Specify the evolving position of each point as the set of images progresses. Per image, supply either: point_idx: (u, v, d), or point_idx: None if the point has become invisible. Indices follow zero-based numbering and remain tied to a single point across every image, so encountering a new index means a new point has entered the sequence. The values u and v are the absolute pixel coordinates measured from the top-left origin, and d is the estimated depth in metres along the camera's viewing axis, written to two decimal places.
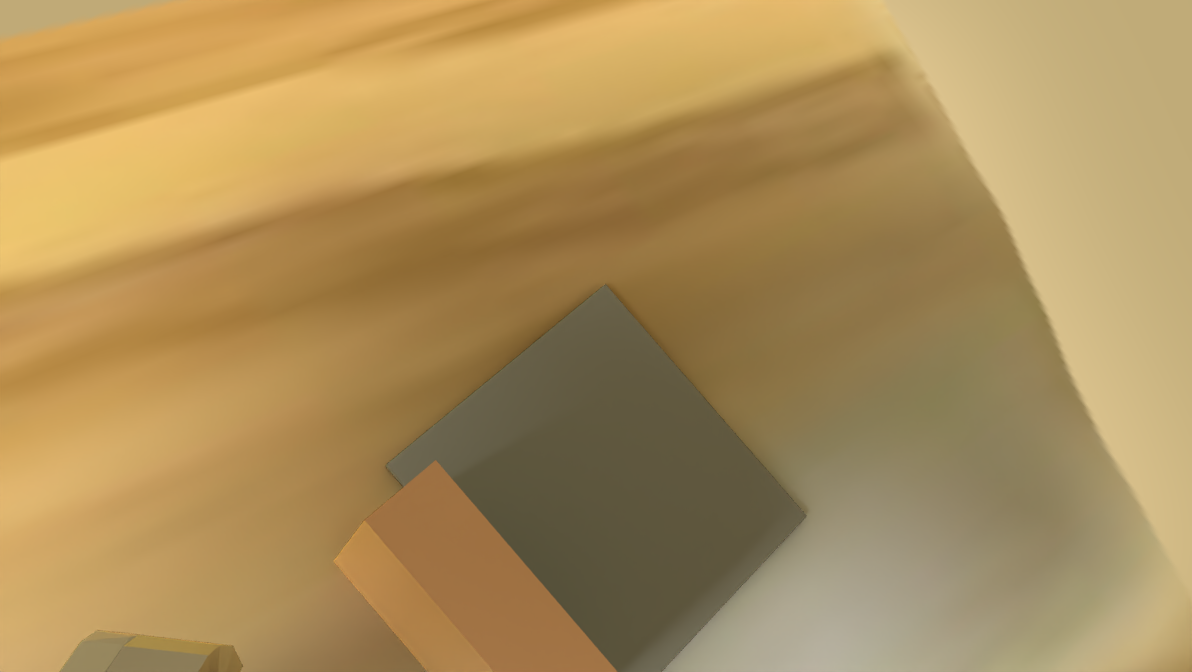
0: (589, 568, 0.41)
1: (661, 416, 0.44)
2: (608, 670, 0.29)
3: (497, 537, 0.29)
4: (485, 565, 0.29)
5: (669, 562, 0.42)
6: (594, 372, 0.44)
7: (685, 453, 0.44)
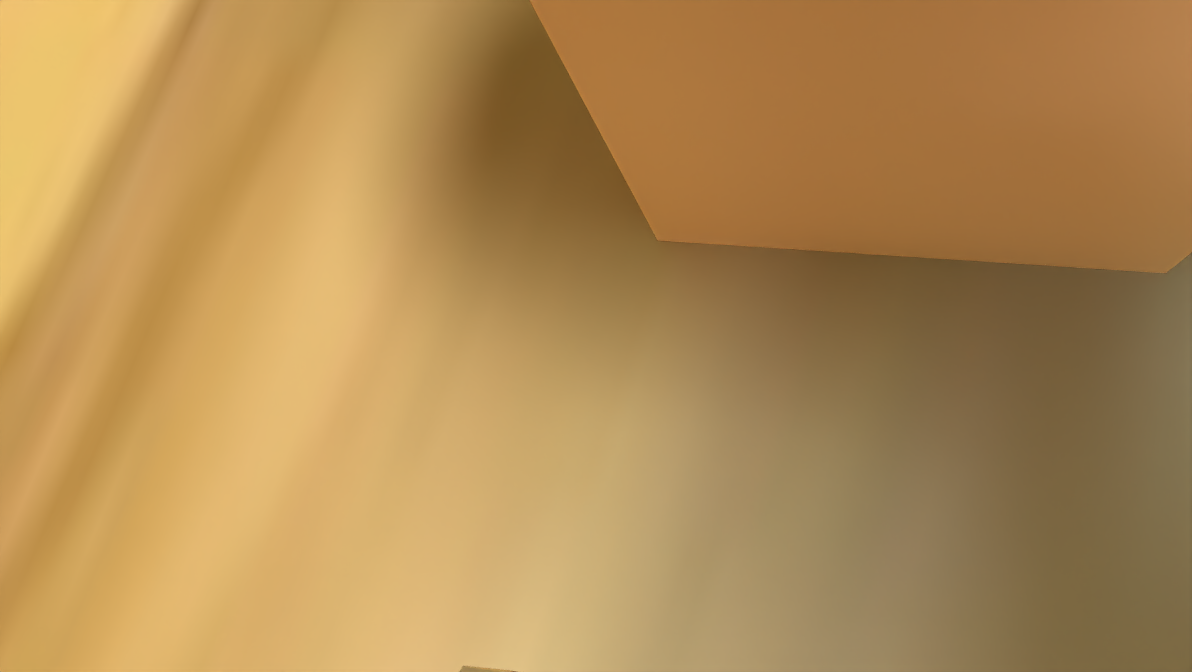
0: None
1: None
2: None
3: None
4: None
5: None
6: None
7: None
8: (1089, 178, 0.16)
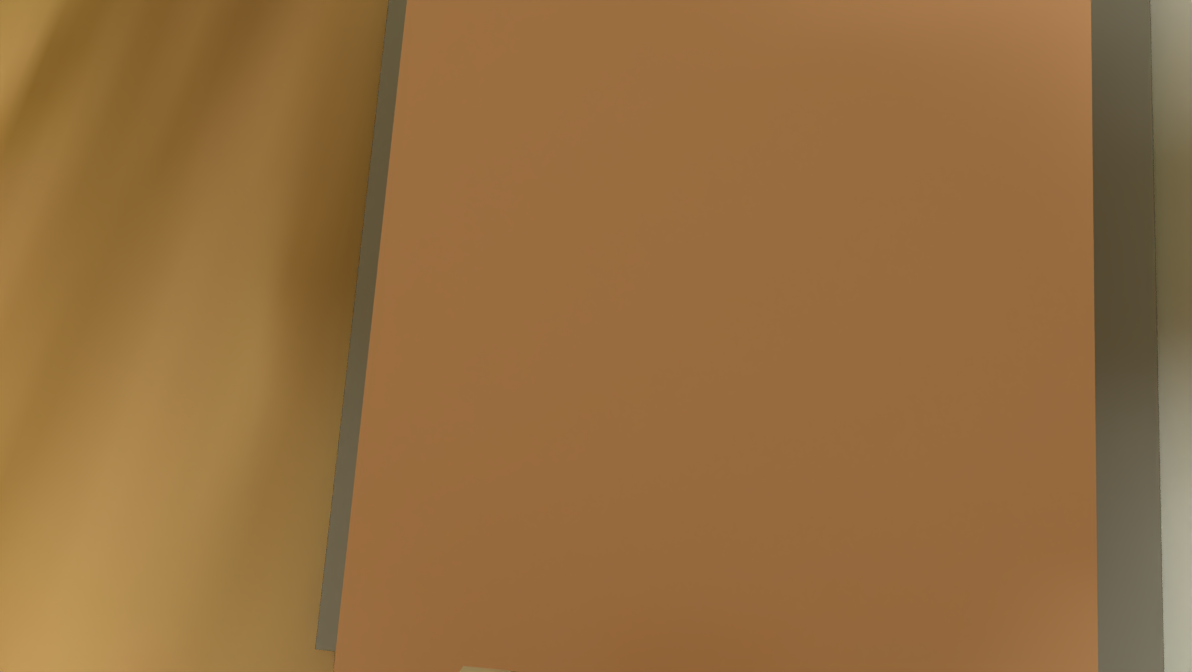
0: None
1: None
2: None
3: None
4: None
5: None
6: None
7: None
8: (889, 425, 0.14)
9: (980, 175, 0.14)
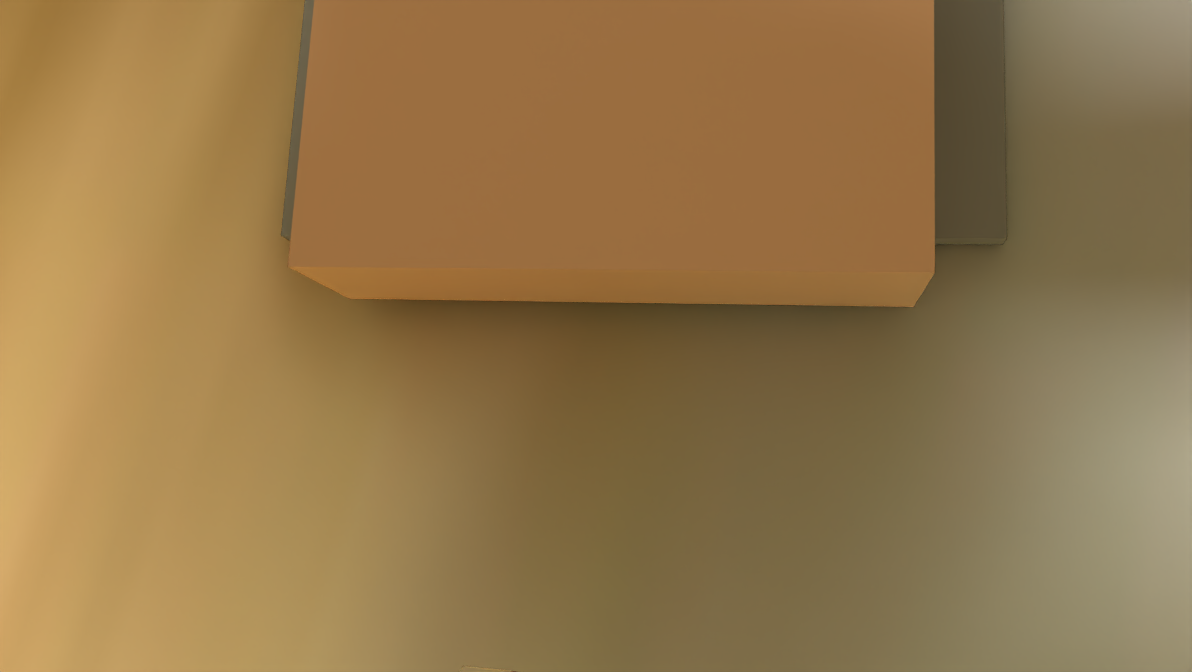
0: None
1: None
2: None
3: None
4: None
5: None
6: None
7: None
8: None
9: None
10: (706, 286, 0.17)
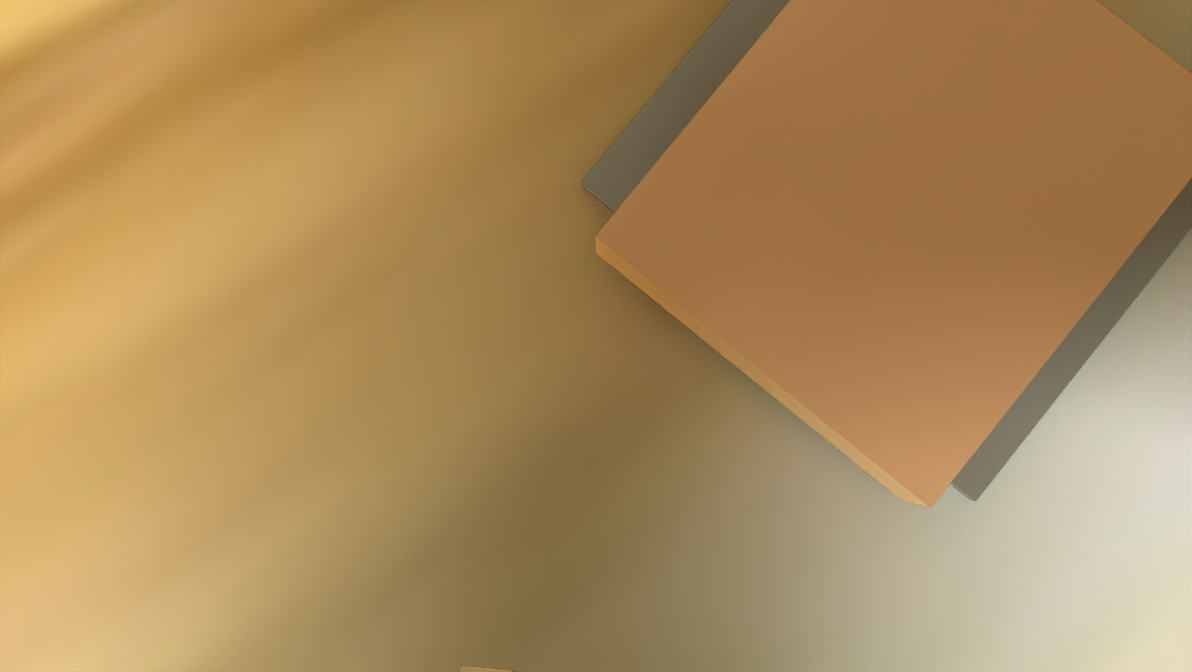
0: None
1: None
2: None
3: None
4: None
5: None
6: None
7: None
8: (980, 267, 0.25)
9: (1107, 184, 0.25)
10: (806, 415, 0.26)
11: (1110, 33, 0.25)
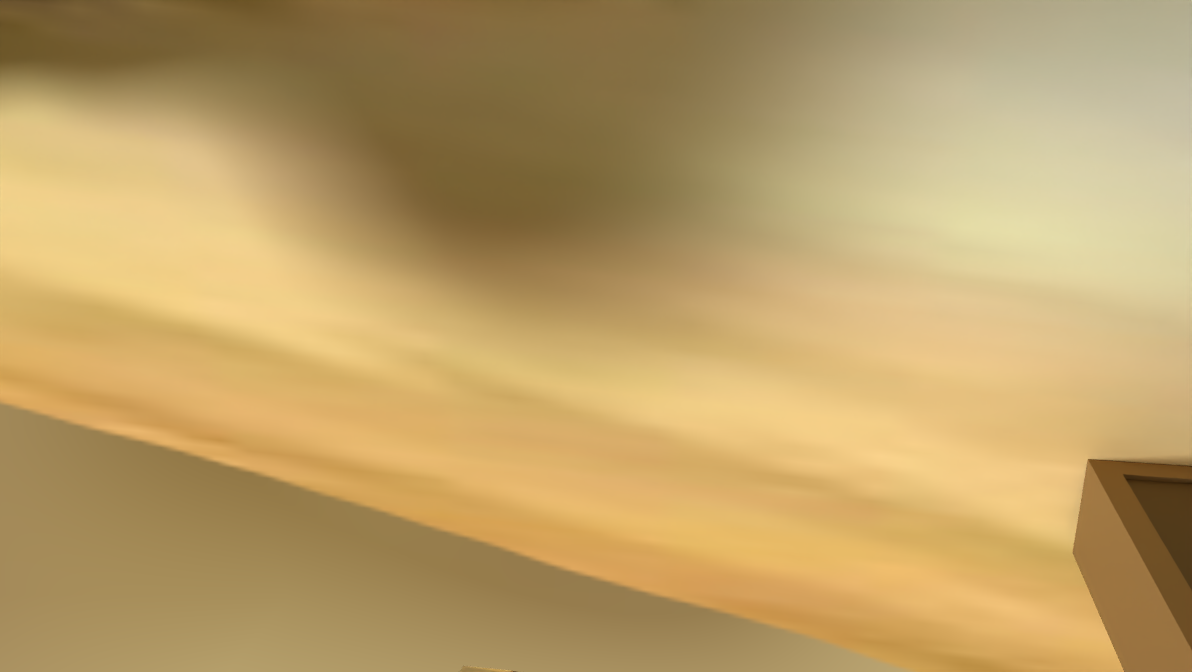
0: None
1: None
2: None
3: None
4: None
5: None
6: None
7: None
8: None
9: None
10: None
11: None
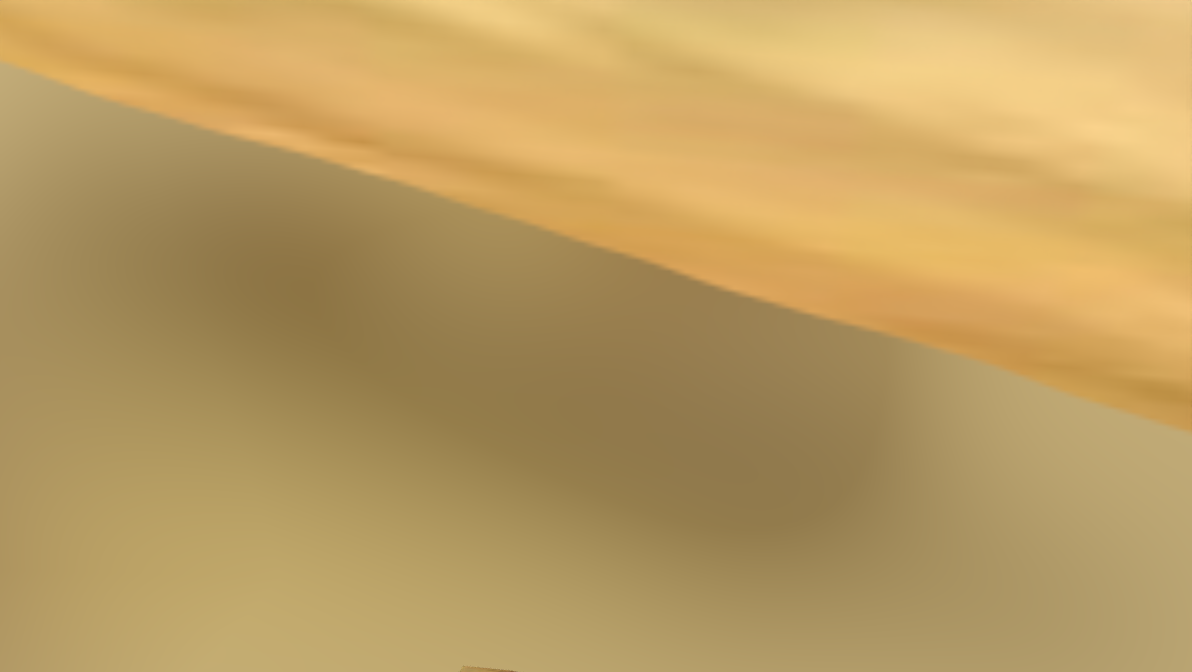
0: None
1: None
2: None
3: None
4: None
5: None
6: None
7: None
8: None
9: None
10: None
11: None
